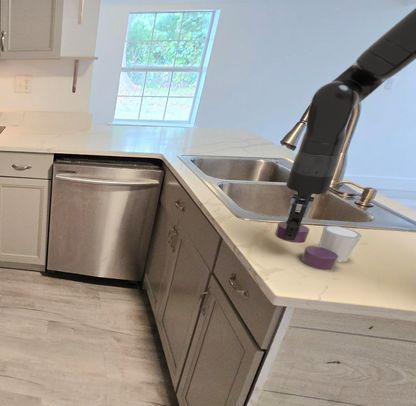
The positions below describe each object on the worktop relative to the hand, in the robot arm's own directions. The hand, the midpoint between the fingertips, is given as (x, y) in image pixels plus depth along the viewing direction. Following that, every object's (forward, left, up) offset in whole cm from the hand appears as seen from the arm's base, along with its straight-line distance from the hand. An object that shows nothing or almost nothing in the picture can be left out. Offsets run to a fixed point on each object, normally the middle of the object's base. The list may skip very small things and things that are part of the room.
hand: (290, 234), depth 91 cm
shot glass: (-10, -4, -6) cm, 13 cm away
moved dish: (0, 0, -1) cm, 1 cm away
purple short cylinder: (-6, +1, -6) cm, 9 cm away
